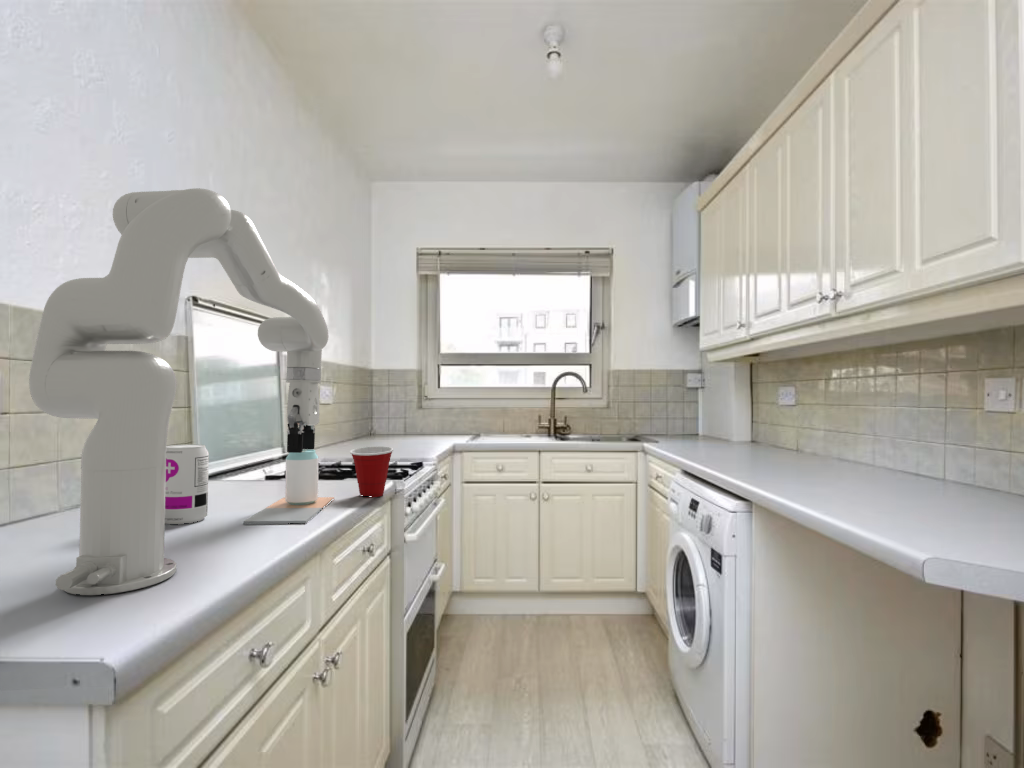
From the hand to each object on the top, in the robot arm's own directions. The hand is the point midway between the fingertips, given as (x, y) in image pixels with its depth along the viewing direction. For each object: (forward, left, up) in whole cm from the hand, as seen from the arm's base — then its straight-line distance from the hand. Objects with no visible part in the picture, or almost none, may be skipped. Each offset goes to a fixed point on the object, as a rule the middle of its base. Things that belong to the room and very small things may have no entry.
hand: (301, 450), depth 123 cm
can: (0, 0, -12) cm, 12 cm away
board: (-5, 0, -13) cm, 14 cm away
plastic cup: (+12, -14, -13) cm, 22 cm away
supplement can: (-13, +19, -13) cm, 26 cm away
